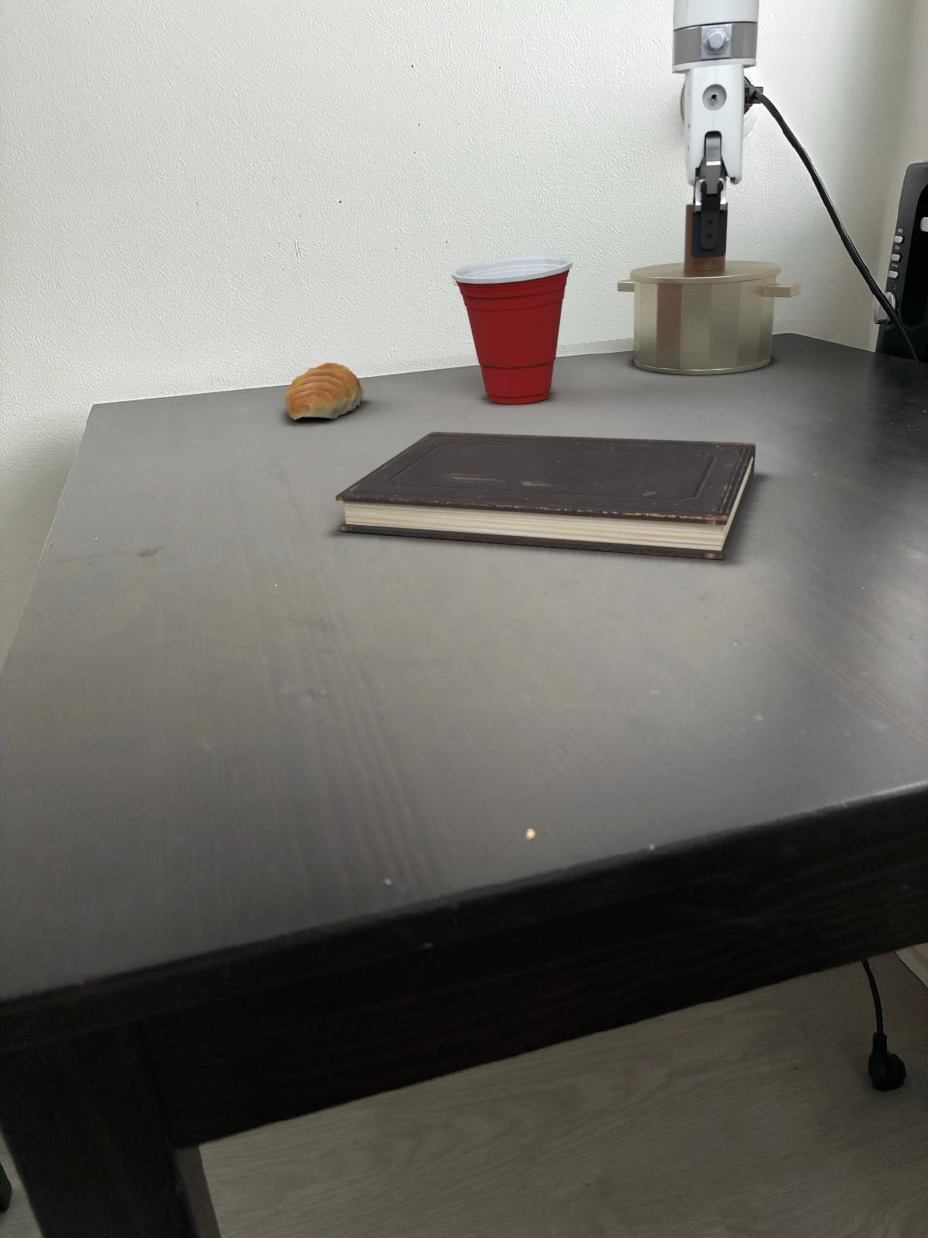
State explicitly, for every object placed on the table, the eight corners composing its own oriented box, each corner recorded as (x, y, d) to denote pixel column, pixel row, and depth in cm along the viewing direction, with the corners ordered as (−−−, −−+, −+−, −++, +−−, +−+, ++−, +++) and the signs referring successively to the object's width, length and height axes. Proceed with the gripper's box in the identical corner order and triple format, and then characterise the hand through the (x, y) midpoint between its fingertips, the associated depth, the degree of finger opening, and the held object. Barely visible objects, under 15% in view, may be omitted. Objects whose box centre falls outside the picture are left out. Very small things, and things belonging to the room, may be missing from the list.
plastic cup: (434, 404, 92) (424, 267, 87) (507, 381, 99) (502, 254, 94) (528, 416, 85) (523, 269, 80) (598, 391, 92) (598, 254, 87)
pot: (655, 344, 113) (656, 265, 109) (818, 356, 101) (825, 268, 98) (587, 366, 104) (586, 280, 100) (758, 381, 92) (764, 285, 89)
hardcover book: (724, 560, 53) (726, 519, 52) (339, 531, 61) (335, 495, 60) (754, 474, 67) (756, 440, 66) (436, 459, 74) (434, 429, 73)
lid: (675, 271, 109) (677, 200, 106) (804, 273, 100) (811, 196, 97) (601, 288, 99) (601, 210, 96) (737, 293, 90) (742, 207, 87)
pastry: (347, 423, 87) (342, 379, 85) (272, 427, 87) (265, 383, 86) (367, 399, 95) (362, 359, 94) (298, 402, 96) (293, 362, 94)
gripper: (764, 38, 83) (752, 259, 90) (749, 55, 98) (740, 242, 105) (672, 46, 84) (667, 262, 91) (671, 62, 99) (667, 246, 107)
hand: (706, 251), depth 98 cm, fingers open, 8 cm apart
